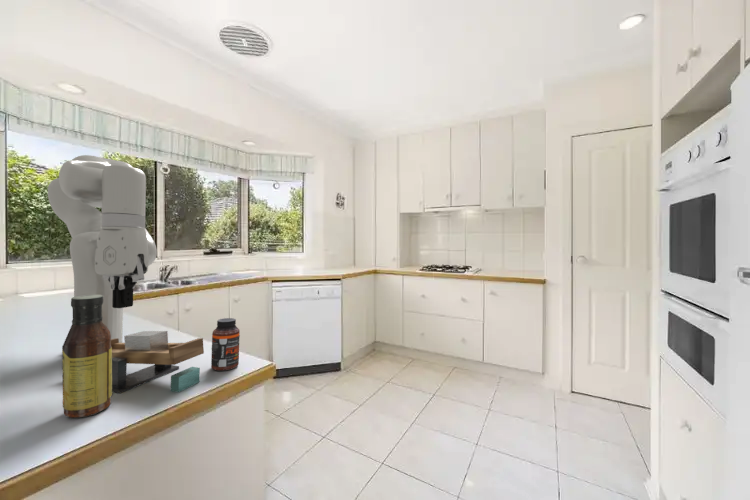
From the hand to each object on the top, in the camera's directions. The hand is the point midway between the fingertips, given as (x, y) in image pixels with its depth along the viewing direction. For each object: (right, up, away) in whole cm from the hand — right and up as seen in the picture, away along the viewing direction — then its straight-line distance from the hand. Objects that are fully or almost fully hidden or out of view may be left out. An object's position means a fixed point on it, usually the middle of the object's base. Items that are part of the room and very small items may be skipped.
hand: (122, 306), depth 68 cm
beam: (+5, -13, -1) cm, 14 cm away
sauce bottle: (+6, -15, -15) cm, 22 cm away
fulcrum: (+5, -15, -1) cm, 16 cm away
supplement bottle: (+20, -16, +6) cm, 26 cm away
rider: (+7, -9, -2) cm, 12 cm away
